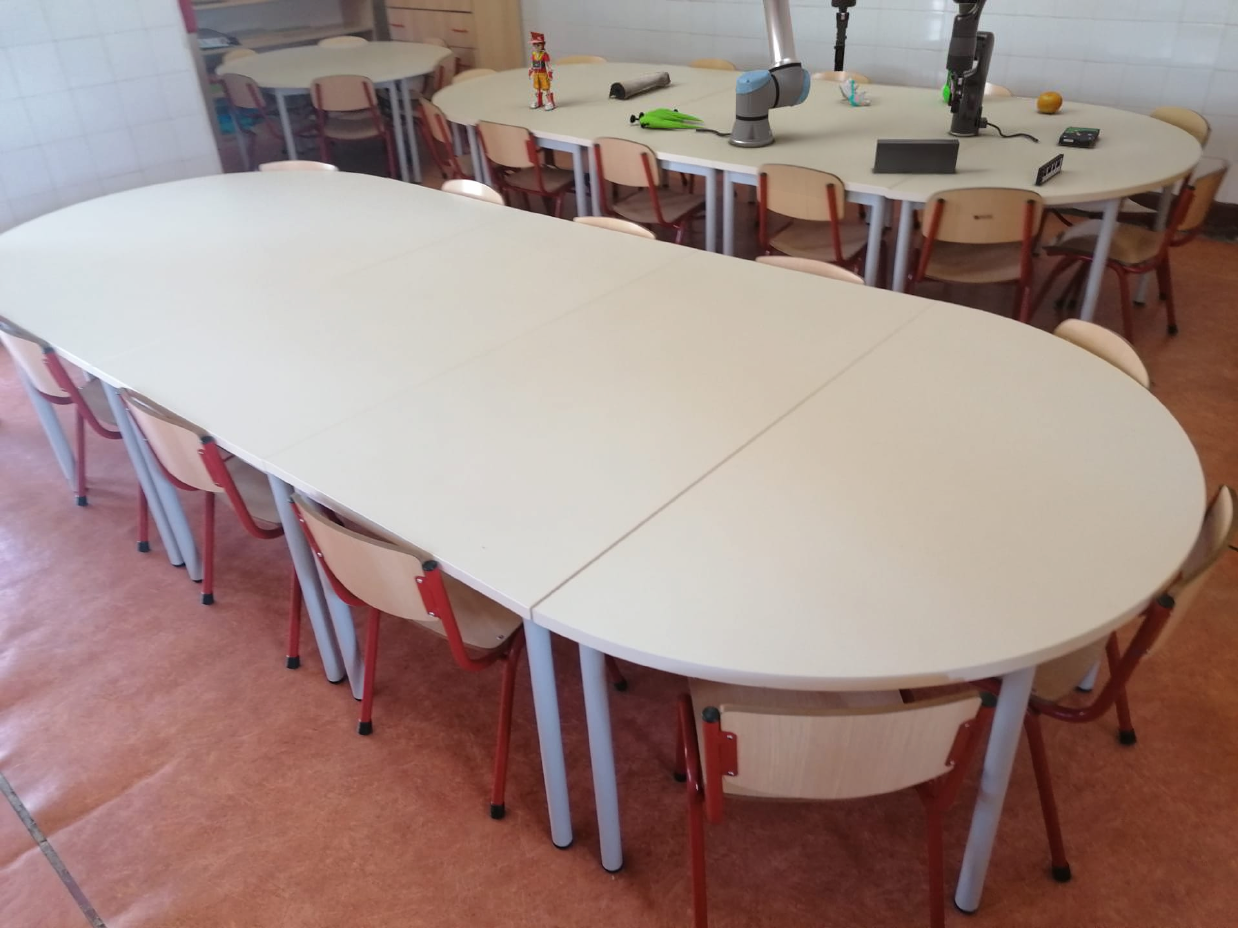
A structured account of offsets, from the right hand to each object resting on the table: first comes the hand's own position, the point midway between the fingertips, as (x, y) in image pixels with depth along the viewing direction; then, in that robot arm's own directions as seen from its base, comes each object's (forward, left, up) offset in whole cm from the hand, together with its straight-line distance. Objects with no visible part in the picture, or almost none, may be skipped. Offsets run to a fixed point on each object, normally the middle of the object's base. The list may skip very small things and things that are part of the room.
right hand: (952, 109), depth 275 cm
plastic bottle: (-12, -90, -19) cm, 92 cm away
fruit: (-44, -73, -19) cm, 87 cm away
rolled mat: (+118, -111, -19) cm, 163 cm away
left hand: (+35, -12, +10) cm, 39 cm away
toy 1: (+156, -84, -19) cm, 179 cm away
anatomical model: (+27, -90, -19) cm, 96 cm away
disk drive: (-47, -34, -19) cm, 61 cm away
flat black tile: (-30, +6, -19) cm, 36 cm away
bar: (+9, 0, -19) cm, 21 cm away
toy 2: (+96, -55, -19) cm, 113 cm away
